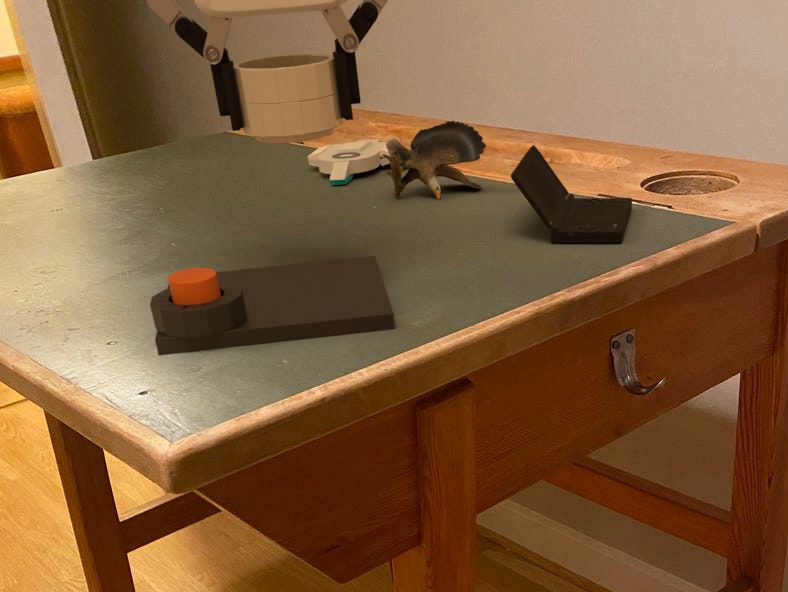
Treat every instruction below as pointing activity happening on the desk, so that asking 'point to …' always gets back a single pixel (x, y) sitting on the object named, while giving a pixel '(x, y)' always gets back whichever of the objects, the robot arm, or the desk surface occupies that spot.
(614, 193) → the desk surface
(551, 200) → the handheld gaming console
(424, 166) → the triceratops head
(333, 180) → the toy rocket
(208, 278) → the button
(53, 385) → the desk surface
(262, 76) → the bowl
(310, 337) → the scale
